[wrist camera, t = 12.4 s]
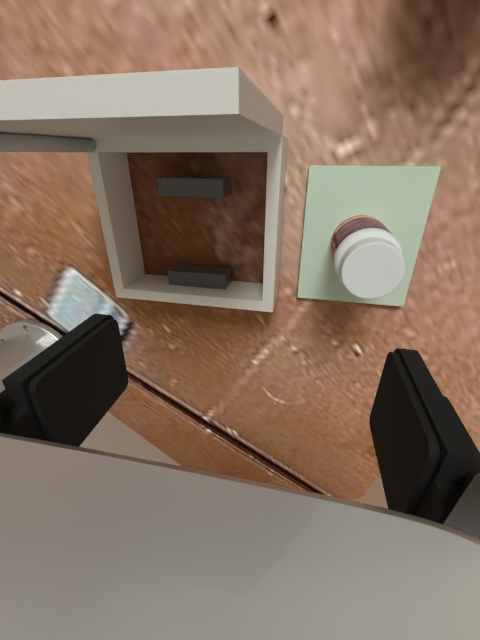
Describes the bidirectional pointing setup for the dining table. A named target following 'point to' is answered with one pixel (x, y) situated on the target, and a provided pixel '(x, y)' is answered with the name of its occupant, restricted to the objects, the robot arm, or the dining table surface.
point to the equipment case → (156, 137)
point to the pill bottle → (367, 257)
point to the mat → (368, 199)
